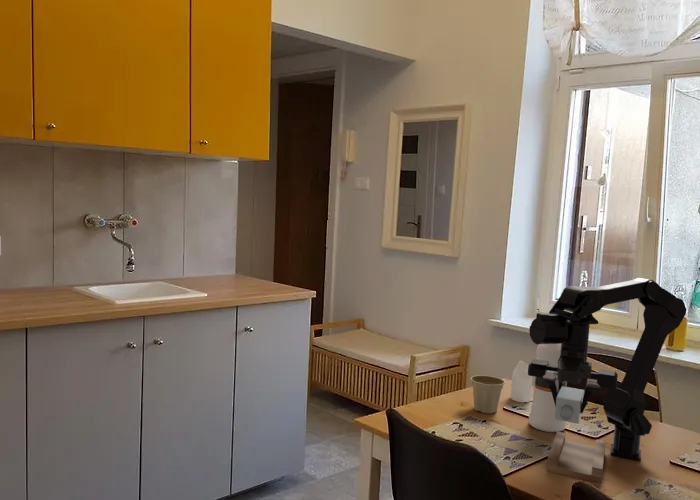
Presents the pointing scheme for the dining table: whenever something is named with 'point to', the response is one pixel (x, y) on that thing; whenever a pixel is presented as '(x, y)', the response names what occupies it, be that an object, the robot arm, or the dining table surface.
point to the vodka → (546, 394)
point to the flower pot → (486, 393)
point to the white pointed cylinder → (521, 383)
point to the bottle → (569, 404)
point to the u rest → (576, 458)
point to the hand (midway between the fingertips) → (569, 410)
